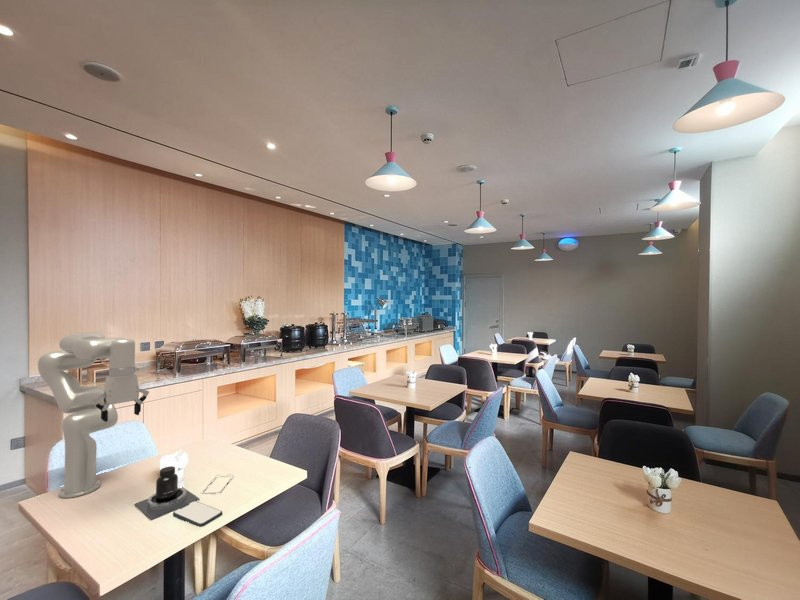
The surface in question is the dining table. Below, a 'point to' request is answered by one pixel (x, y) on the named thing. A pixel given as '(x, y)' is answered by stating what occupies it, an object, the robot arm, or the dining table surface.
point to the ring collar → (165, 504)
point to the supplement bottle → (166, 485)
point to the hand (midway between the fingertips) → (121, 417)
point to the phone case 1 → (197, 513)
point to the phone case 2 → (215, 492)
